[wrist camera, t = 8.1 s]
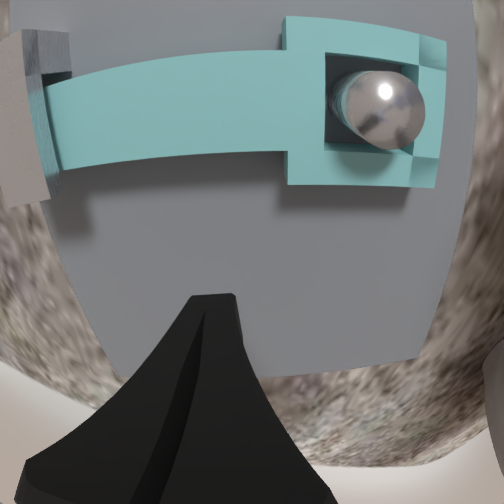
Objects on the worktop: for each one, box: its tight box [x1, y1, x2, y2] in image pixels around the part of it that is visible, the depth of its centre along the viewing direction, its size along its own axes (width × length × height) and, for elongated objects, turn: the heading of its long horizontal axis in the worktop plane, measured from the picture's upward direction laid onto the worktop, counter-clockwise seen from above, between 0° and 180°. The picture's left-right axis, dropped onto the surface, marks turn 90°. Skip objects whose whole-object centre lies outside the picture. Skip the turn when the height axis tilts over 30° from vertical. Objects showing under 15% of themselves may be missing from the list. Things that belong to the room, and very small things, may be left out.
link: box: [43, 16, 447, 188], centre depth 8 cm, size 14×5×1 cm, turn 92°
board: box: [9, 0, 477, 378], centre depth 11 cm, size 17×20×1 cm
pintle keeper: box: [0, 29, 425, 208], centre depth 8 cm, size 12×5×4 cm, turn 95°
